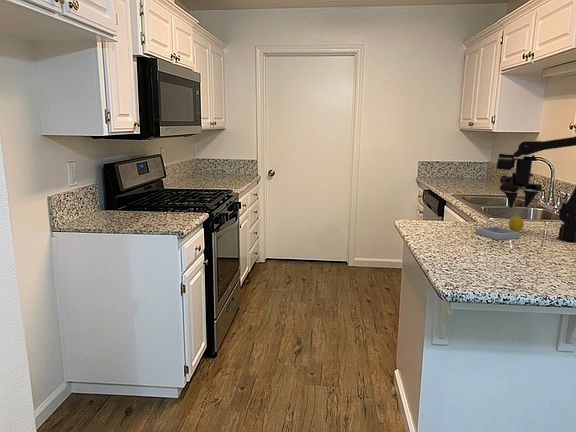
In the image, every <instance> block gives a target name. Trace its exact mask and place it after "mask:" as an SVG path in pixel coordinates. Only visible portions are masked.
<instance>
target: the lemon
mask: <svg viewBox="0 0 576 432" xmlns="http://www.w3.org/2000/svg"><path fill="white" fill-rule="evenodd" d="M523 228H524V220H523V218H522V217H521V216H519V215H517V214H515V216H512V217H511V218H510V219H509V223H508V229H509V230H511V231H515V232H519V233H520V232H521V231H522V229H523Z"/></svg>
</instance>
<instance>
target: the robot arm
mask: <svg viewBox="0 0 576 432" xmlns="http://www.w3.org/2000/svg"><path fill="white" fill-rule="evenodd" d="M569 147H576V136H571V137H564V138H563V137H562V138H558V139H557V138H555V139H549V140H545V141H544V140H542V141H541V140H537V141H536V140H525V141H522V142H521V143H520V144H519V145H518V147H517V148H518V149H517V150H516V151H515V152H514V153H513V154H509V153H508V154H507V153H506V154H505V153H499V154H498V157H497V158H498V159H497V162H496V170H502V171H503V170H504V171H512V169H515V172H512V175H511V176H507V175H501V176H500V181H499V183H500V187H499V191H501V192H502V193H503V194H505V196H506V200H507V203H508V207H509V209H510V208H511V209H512V208H513V207H514V206H515V202H516V200H517V197H518V194H519V192H518V190H519V191H520V190H522V191H523V193H524V207H525V208H528V206H529V205H531V203H532V201H533V199H535V197H536V196H537V195H538V194H539V193H540V192H541V191H543V190H542V188H543V186H542V185H541V184H540V183H533V182H531V181H530V180H531V177H533V175H534V174H532V173H531V172H532V165H533V162H537V161H538V158H536V156H535V155H534V154H536V153H539V152H541V151H545V150H554V149H560V148H569ZM529 155H531V156H529ZM520 156H523V158H519V157H520ZM515 165H516V166H515ZM557 212H558V218H559V221H561V222H562V224H561V225H560V227H559V231H558V237H556V239H557V240H561V241H564V242H568V243H576V185H575V186H574V188H573V189H572V192H571V193H570V195H569V198H568V199H567V200H566V201H564V200H562V201H561V205H560V207H559V208H558V209H557Z"/></svg>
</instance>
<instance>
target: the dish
mask: <svg viewBox="0 0 576 432" xmlns="http://www.w3.org/2000/svg"><path fill="white" fill-rule="evenodd" d="M474 234H475V235H477V236H481V237H485V238H488V239H491V240H494V241H508V240H509V241H510V240H519V239H520V236H521V235H520V234H521V232H520V231H519V232H515V231H511V230H510V229H508V228H507V229H506V228H503V227H499V226H486V227H475V230H474Z"/></svg>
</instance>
